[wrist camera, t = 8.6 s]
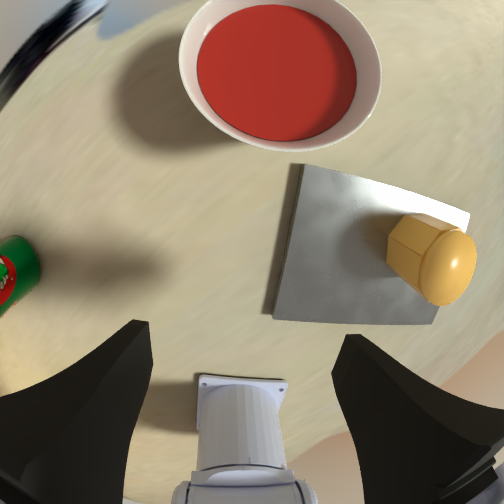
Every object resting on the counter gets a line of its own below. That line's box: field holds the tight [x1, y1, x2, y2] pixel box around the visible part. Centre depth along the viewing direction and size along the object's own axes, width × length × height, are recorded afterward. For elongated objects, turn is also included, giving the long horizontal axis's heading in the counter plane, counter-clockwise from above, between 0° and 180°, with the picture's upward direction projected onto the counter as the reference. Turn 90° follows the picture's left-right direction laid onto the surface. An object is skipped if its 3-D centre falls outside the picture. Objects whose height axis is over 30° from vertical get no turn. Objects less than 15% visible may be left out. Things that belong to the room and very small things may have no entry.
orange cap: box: [386, 213, 477, 306], centre depth 16 cm, size 5×5×5 cm
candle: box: [179, 0, 382, 152], centre depth 12 cm, size 9×9×6 cm
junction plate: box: [271, 164, 470, 325], centre depth 17 cm, size 11×16×4 cm
